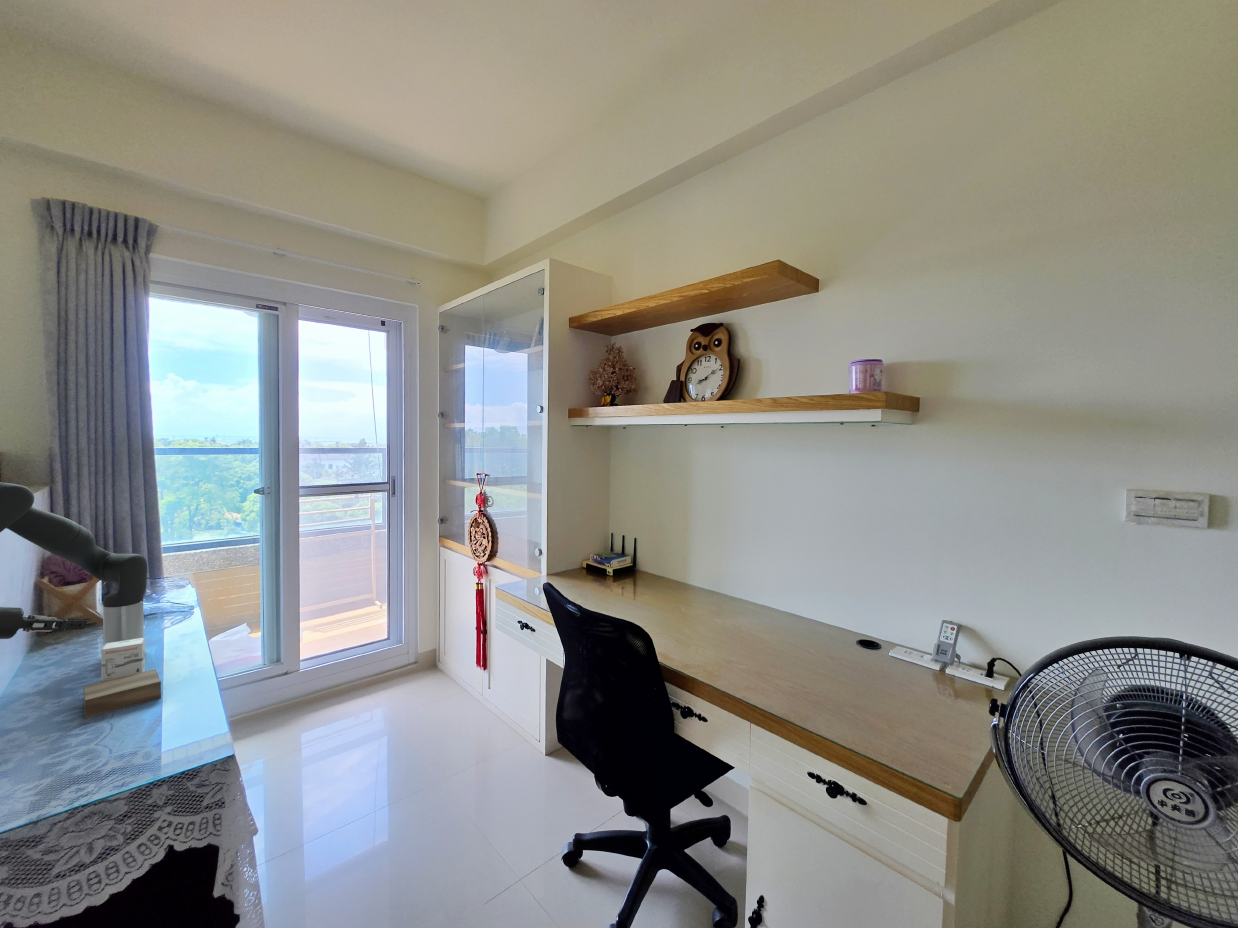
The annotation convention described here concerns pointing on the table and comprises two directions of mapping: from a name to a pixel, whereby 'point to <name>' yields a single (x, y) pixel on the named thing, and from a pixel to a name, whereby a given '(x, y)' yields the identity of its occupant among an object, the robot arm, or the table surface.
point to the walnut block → (121, 692)
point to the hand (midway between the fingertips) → (78, 623)
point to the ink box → (122, 658)
